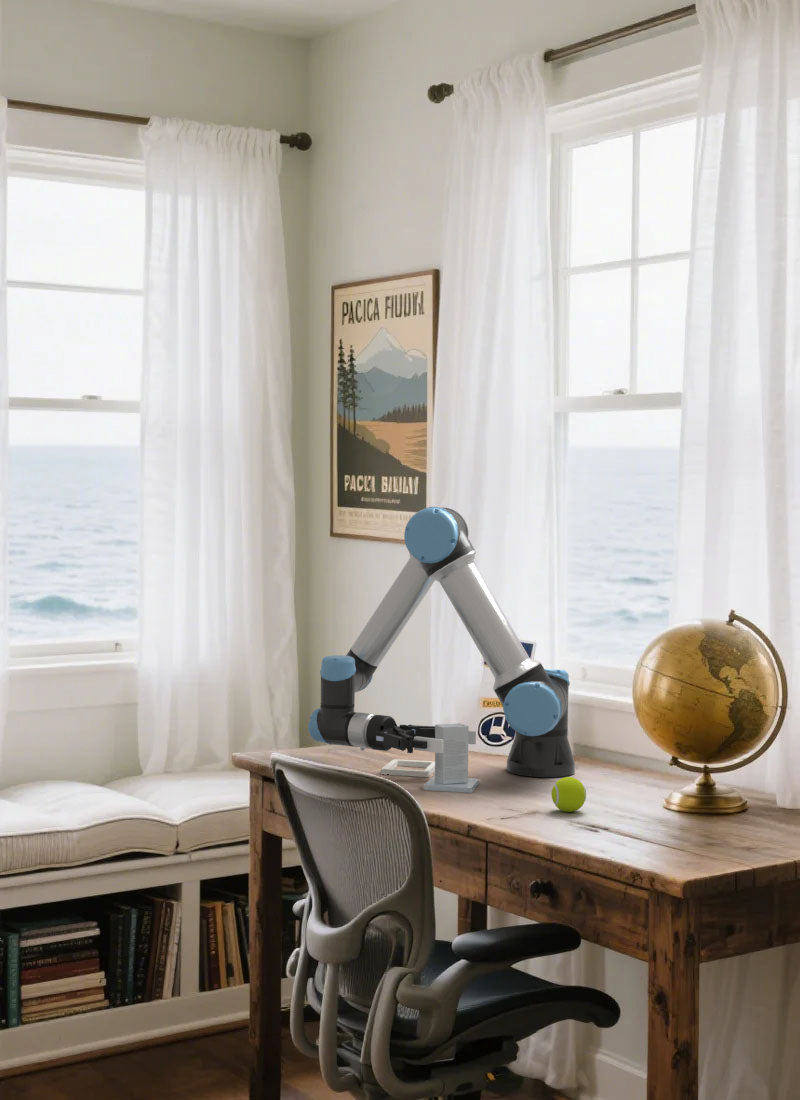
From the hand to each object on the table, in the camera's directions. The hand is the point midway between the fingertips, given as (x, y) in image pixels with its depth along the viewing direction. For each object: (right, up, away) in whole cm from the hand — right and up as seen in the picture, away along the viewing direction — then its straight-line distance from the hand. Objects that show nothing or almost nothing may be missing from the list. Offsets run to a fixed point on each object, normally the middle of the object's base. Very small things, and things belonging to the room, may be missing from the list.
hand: (459, 742), depth 292 cm
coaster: (-1, -9, +1) cm, 10 cm away
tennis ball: (+20, -11, -21) cm, 31 cm away
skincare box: (-2, -9, +1) cm, 9 cm away
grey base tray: (-10, -9, +18) cm, 23 cm away
